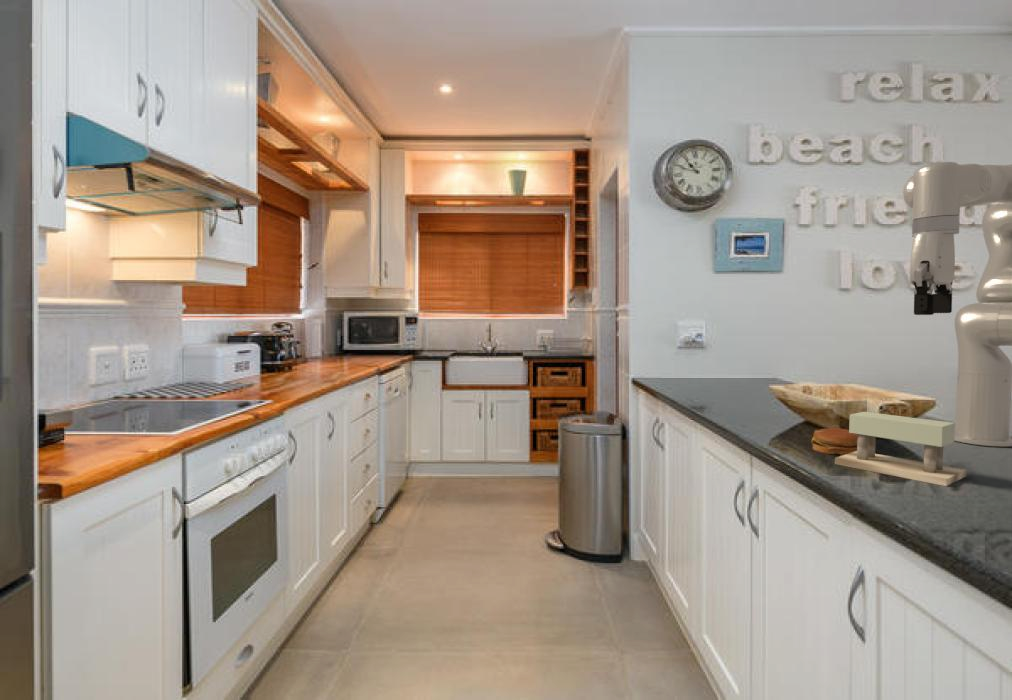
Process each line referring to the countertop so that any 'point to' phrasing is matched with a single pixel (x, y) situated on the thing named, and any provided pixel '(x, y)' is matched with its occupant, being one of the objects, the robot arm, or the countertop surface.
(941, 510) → the countertop surface
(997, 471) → the countertop surface
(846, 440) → the burger
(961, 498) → the countertop surface
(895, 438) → the shelf board
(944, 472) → the peg rack
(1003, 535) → the countertop surface
